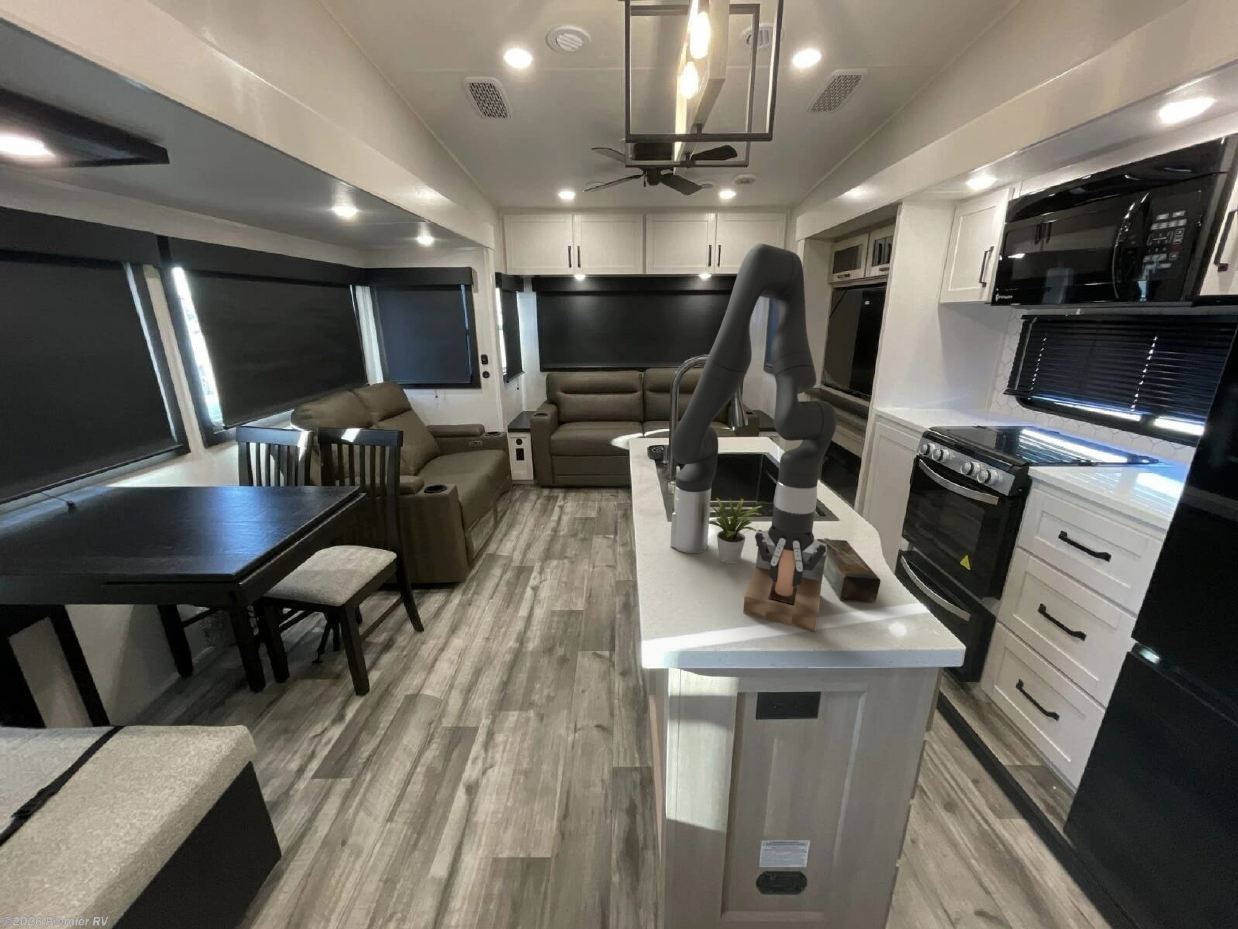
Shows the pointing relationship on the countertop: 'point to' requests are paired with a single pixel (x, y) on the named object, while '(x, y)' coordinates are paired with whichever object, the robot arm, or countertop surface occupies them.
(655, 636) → the countertop surface
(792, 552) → the peg
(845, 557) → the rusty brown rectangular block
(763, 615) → the socket station
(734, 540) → the house plant
